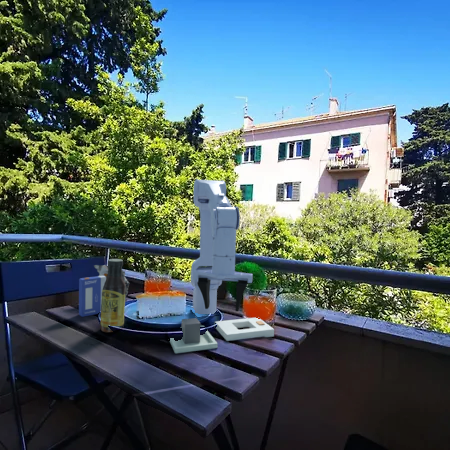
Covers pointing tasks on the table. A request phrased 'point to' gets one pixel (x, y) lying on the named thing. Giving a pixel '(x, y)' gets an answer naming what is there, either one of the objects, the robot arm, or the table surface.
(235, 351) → the table surface
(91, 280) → the walkman
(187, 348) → the tray
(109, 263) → the sauce bottle
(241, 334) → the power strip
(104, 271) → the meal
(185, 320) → the plug
